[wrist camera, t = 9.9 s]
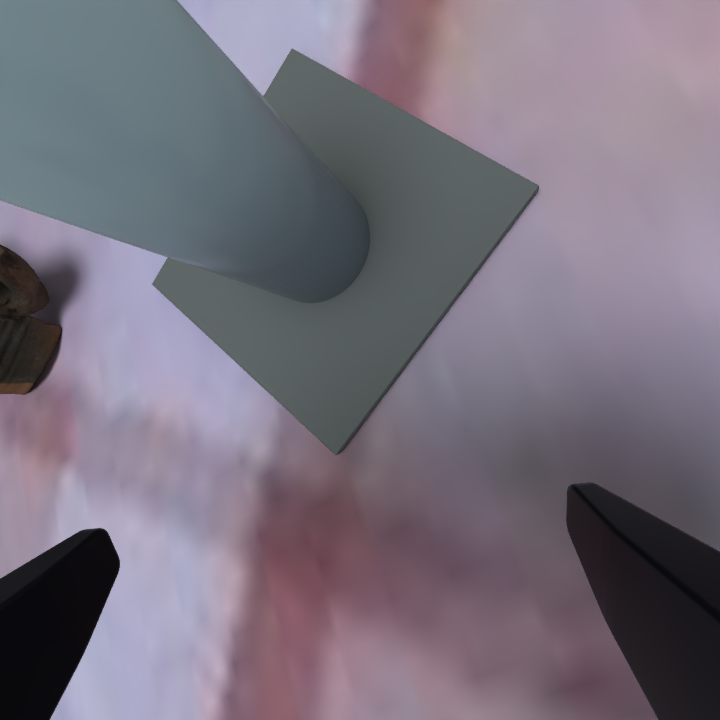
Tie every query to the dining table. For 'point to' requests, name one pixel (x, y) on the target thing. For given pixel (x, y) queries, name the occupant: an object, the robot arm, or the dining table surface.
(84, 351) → the dining table surface
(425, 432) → the dining table surface
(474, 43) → the dining table surface
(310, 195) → the tumbler
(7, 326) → the brown black curved piece
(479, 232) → the coaster mat
